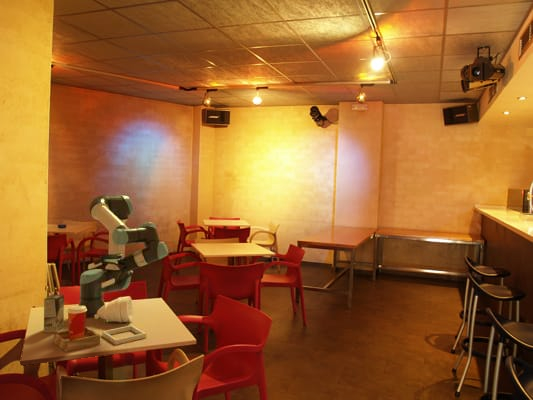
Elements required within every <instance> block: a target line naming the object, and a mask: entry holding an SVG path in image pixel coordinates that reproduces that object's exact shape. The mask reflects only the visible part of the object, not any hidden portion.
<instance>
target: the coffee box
mask: <svg viewBox="0 0 533 400" xmlns="http://www.w3.org/2000/svg"><path fill="white" fill-rule="evenodd" d="M64 316H65V294H50V295H49V296H47V297H45V298H44V299H43V333H57V332H60V330H62V329H63V328H64V325H65V324H64V323H65V317H64Z"/></svg>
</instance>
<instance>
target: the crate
mask: <svg viewBox="0 0 533 400" xmlns="http://www.w3.org/2000/svg"><path fill="white" fill-rule="evenodd" d="M53 343H54V344H56V345H57V346H58V347H59V348H60V349H61V350H62V351H63V352H65V353H66V352H71V351H75V349H76V350H80V349H84V348H87V347H88V348H89V347H93V346H98V345H100V344H101V335H100V334H99V333H97V332H96V331H94V330H93V329H92V328H90V327H89V326H85V335H84V338H81V339H76V340H71V341H70V339H69V329H68V330H63V331H58V332H53ZM70 350H71V351H70Z"/></svg>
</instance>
